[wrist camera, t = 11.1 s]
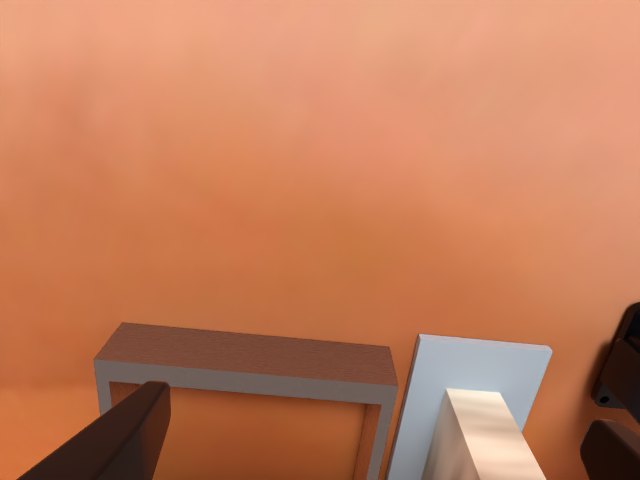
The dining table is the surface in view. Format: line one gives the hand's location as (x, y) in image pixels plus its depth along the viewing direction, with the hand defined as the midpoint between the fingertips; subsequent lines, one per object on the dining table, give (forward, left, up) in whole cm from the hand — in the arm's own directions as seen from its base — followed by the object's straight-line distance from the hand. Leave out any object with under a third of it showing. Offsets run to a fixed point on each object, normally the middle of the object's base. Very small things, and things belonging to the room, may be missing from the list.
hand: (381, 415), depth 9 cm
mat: (-8, +14, -12) cm, 20 cm away
